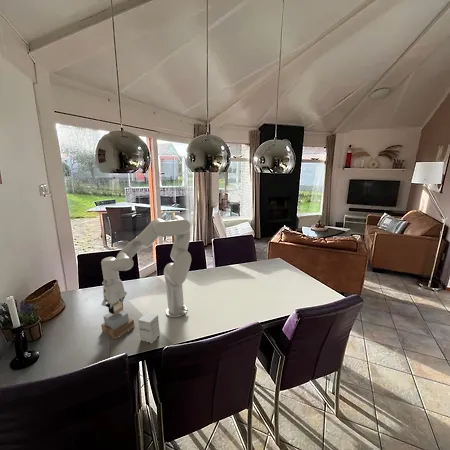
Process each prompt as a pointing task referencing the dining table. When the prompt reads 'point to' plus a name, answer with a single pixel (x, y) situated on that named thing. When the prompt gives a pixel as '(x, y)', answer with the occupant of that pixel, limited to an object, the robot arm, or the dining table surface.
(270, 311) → the dining table surface
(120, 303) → the ash cube
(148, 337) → the supplement box
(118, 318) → the top block
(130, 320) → the base block
